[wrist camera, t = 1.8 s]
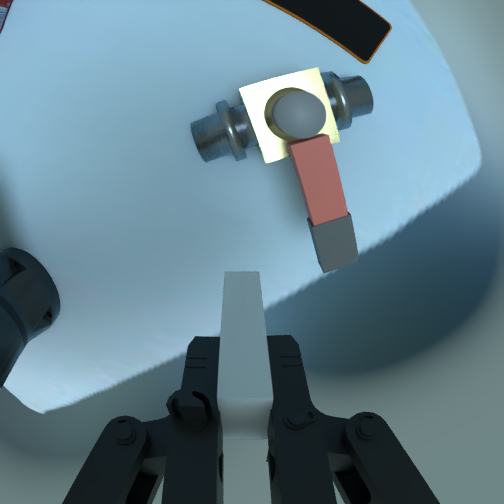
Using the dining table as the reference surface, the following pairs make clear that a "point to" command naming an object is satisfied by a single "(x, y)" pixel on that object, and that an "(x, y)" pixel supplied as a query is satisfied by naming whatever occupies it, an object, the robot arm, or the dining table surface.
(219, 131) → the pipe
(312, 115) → the lever
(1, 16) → the box
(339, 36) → the smartphone
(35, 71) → the dining table surface
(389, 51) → the dining table surface
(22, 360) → the dining table surface
